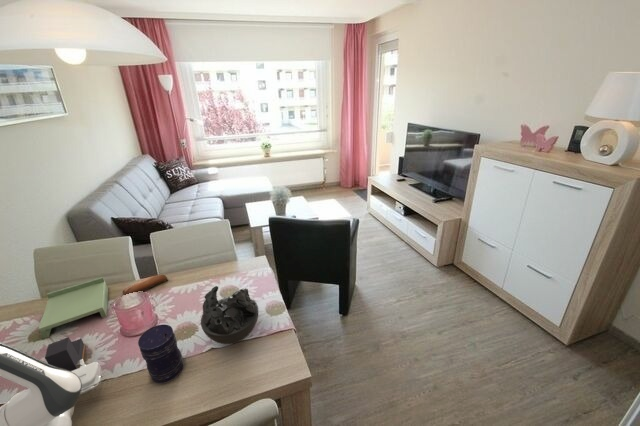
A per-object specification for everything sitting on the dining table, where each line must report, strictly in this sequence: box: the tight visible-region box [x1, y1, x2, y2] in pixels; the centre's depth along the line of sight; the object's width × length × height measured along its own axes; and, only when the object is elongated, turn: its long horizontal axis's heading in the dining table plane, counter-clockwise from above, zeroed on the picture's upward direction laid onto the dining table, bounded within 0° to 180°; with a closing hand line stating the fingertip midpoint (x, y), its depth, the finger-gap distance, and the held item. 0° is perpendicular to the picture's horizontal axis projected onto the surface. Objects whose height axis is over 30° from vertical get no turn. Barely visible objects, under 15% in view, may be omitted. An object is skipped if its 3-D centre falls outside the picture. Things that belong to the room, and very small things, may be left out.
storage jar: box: [137, 324, 185, 385], centre depth 93 cm, size 10×10×15 cm
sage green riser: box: [38, 276, 109, 340], centre depth 122 cm, size 20×22×7 cm
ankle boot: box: [44, 337, 86, 371], centre depth 97 cm, size 5×15×12 cm, turn 33°
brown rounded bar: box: [122, 274, 168, 296], centre depth 136 cm, size 18×7×7 cm
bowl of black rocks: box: [200, 285, 259, 345], centre depth 105 cm, size 20×20×19 cm
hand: (61, 368), depth 91 cm, fingers open, 8 cm apart
